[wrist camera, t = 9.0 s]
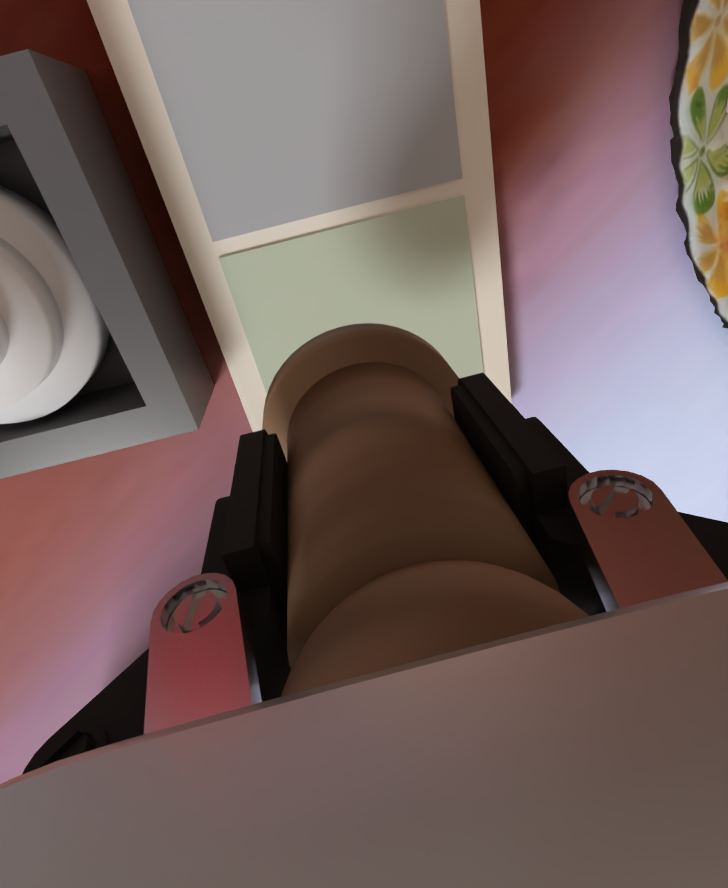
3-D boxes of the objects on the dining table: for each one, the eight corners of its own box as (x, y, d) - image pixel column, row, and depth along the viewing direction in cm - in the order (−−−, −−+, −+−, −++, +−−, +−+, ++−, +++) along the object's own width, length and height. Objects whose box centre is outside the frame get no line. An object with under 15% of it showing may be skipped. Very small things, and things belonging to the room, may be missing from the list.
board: (272, 465, 21) (270, 480, 21) (-220, -837, 8) (-287, -964, 7) (504, 408, 21) (513, 420, 20) (378, -1022, 8) (389, -1177, 7)
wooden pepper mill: (296, 521, 15) (312, 1155, 5) (233, 354, 12) (55, 1030, 3) (471, 475, 15) (788, 1029, 5) (446, 299, 12) (983, 788, 3)
